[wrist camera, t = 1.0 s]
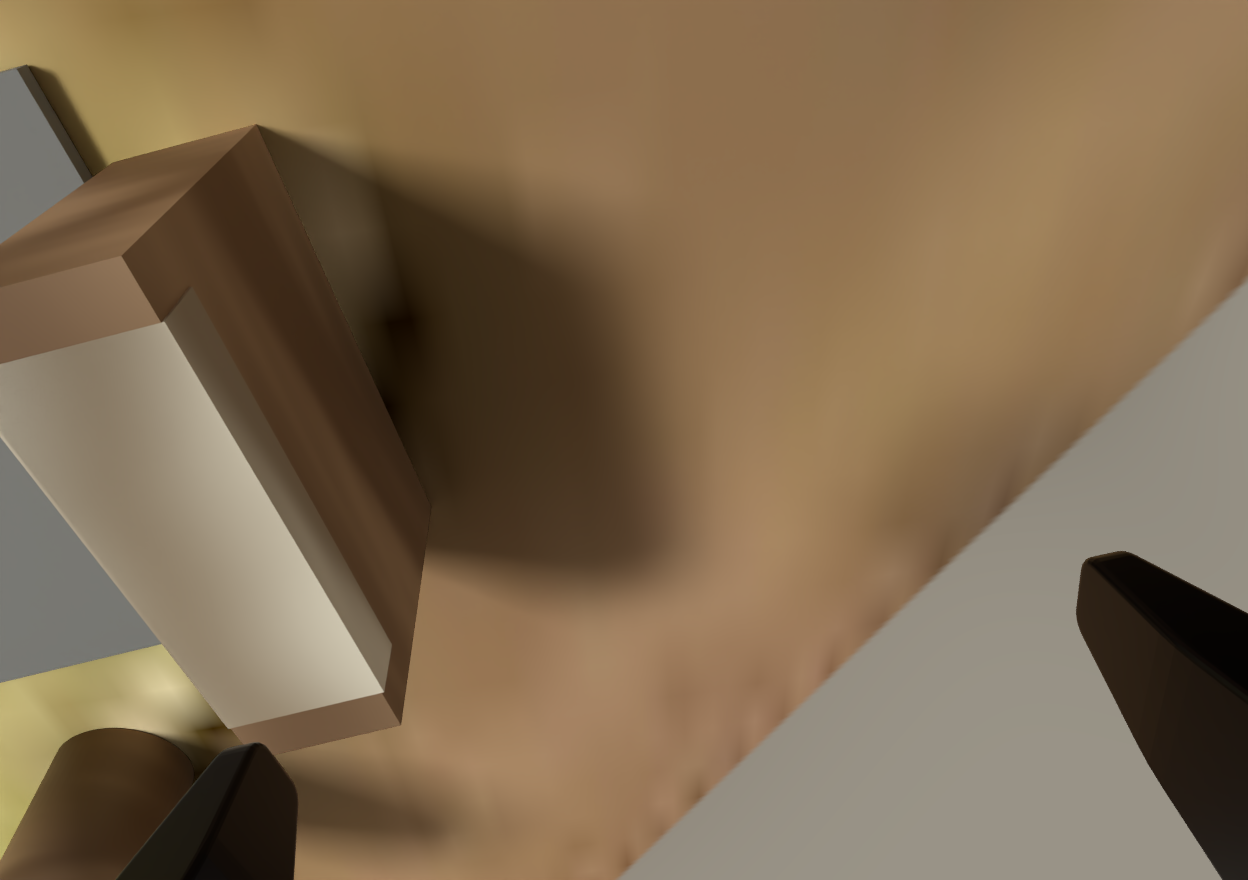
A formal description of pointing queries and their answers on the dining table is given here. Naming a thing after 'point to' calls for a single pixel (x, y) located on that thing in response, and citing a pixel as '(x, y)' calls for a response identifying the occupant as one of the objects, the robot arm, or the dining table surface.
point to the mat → (3, 490)
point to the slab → (218, 437)
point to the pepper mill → (97, 806)
